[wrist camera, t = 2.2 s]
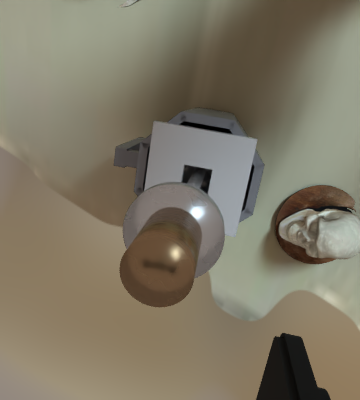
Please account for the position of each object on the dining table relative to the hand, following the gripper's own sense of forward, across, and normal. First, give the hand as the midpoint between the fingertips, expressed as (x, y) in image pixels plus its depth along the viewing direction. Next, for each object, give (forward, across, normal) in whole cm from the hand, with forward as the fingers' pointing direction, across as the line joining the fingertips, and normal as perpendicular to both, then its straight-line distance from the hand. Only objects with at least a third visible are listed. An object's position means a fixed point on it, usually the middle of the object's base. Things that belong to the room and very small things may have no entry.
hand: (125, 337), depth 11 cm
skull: (+41, -18, +7) cm, 45 cm away
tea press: (+41, +1, -1) cm, 41 cm away
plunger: (+27, 0, 0) cm, 27 cm away
